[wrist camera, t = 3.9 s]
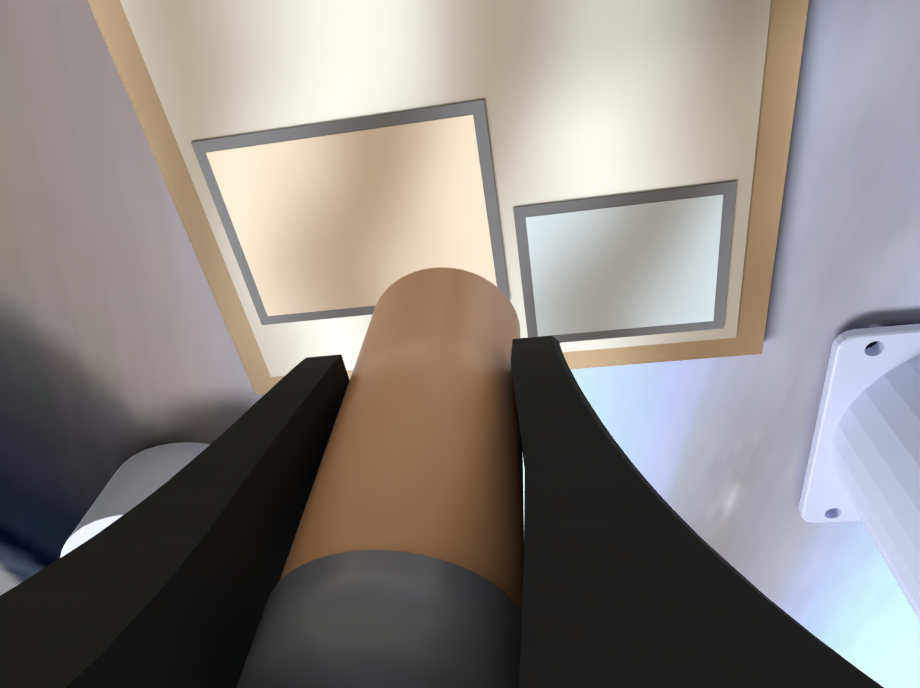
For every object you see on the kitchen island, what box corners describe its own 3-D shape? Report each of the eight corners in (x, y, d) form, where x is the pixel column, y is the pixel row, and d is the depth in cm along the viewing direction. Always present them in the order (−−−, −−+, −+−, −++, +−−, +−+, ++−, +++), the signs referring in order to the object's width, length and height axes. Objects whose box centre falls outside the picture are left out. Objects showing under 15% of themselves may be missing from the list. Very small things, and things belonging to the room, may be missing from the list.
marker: (515, 256, 11) (516, 645, 5) (529, 388, 12) (543, 798, 7) (352, 273, 11) (185, 650, 6) (386, 398, 13) (283, 794, 7)
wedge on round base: (440, 592, 27) (200, 404, 22) (421, 764, 22) (95, 568, 17) (301, 653, 31) (67, 504, 26) (254, 815, 25) (-55, 666, 20)
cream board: (829, -219, 12) (841, -225, 11) (757, 345, 19) (763, 356, 19) (70, -65, 14) (56, -65, 14) (259, 386, 21) (254, 397, 21)
